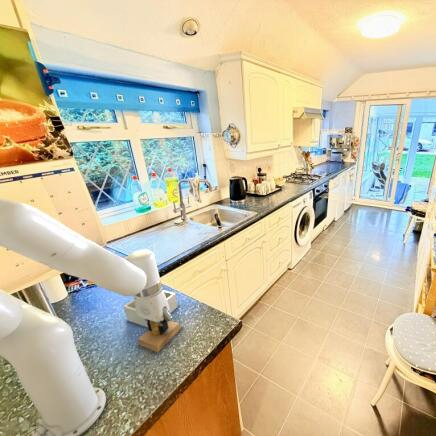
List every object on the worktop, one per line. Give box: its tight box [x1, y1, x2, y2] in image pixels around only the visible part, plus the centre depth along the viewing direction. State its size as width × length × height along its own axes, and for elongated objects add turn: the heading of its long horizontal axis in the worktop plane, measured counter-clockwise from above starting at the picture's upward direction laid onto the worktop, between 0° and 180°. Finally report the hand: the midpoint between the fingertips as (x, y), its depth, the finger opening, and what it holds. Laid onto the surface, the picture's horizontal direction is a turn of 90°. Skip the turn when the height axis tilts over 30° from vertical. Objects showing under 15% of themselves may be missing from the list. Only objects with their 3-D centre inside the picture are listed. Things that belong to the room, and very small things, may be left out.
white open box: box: [123, 289, 179, 328], centre depth 93 cm, size 13×13×7 cm
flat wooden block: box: [137, 319, 181, 353], centre depth 83 cm, size 10×8×3 cm
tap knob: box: [150, 319, 163, 336], centre depth 81 cm, size 4×4×5 cm
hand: (158, 329), depth 82 cm, fingers closed on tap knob, 4 cm apart
